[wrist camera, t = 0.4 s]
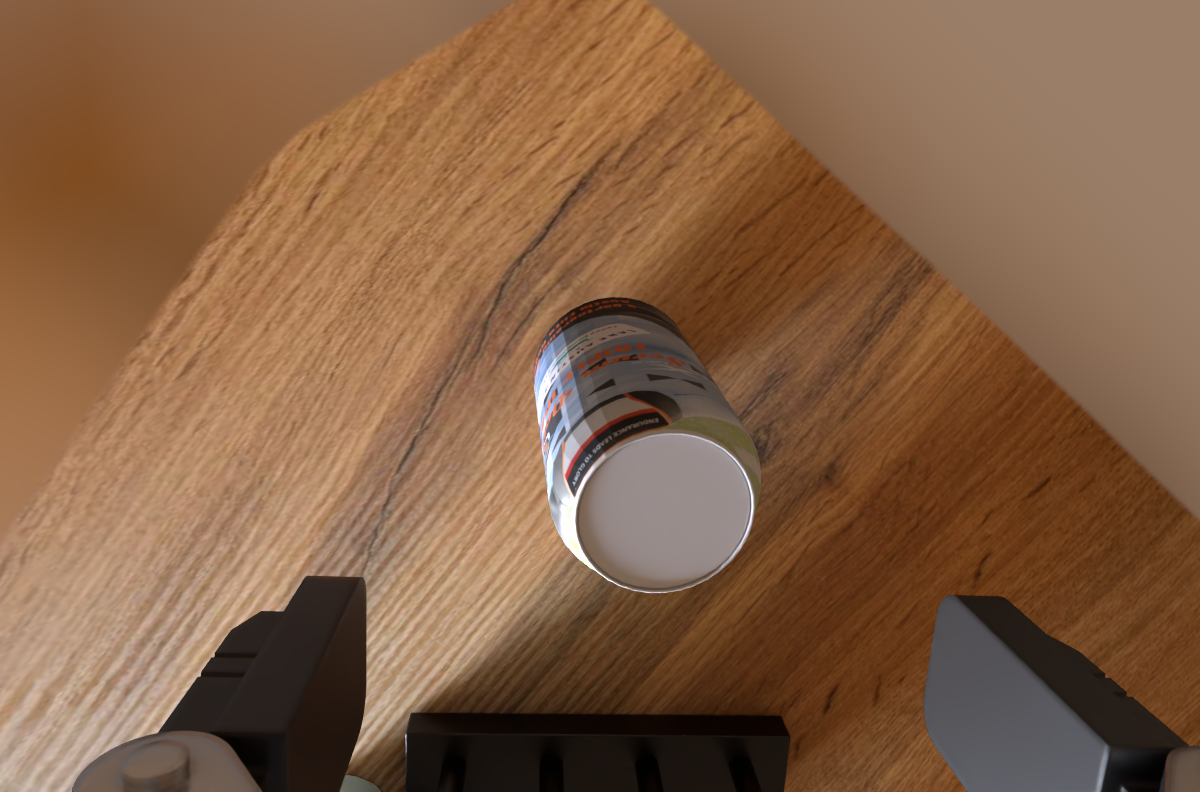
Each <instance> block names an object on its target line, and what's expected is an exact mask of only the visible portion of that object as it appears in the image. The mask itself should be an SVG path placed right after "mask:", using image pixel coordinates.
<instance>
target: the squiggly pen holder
mask: <svg viewBox="0 0 1200 792" xmlns="http://www.w3.org/2000/svg"><path fill="white" fill-rule="evenodd" d="M340 792H381V791H380V790H379V788H378V787H377V786H376V785H375V784H373V783H371V782H369V781H367V780H364V779H361V778H359V777H356V776H350V775H345V777H344V780H343V783H342V786H341V789H340Z"/></svg>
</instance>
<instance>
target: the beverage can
mask: <svg viewBox="0 0 1200 792" xmlns="http://www.w3.org/2000/svg"><path fill="white" fill-rule="evenodd" d="M533 381H534V389H535V397H536V405H537V413H538V420H539V428H540V436H541V444H542V451H543V459H544V467H545V475H546V483H547V490H548V498H549V505H550V511H551V515H552V518H553V521H554V523H555V526H556V529H557V531H558V533H559V534H560V536H561V538H562V539H563V541H564V543H565V544H566V546H567V547H568V548H569V549H570V550H571V551H572V552H573V553H574V554H575V556H576V557H577V558H578V559H580V560H581V561H582V562H584V563H585V564H586V565H588V566H589V567H590V568H592V569H593V570H595V571H597V572H598V573H599V574H601V575H602V576H603V577H605V578H606V579H607V580H609V581H611V582H613V583H615V584H617V585H619V586H621V587H624V588H627V589H631V590H634V591H640V592H647V593H667V592H673V591H679V590H683V589H686V588H689V587H692V586H695V585H697V584H699V583H701V582H703V581H705V580H708V579H709V578H711V577H712V576H714V575H715V574H717V573H718V572H720V571H721V570H722V569H723V568H724V567H725V566H727V565H728V564H729V563H730V562H731V561H732V560H733V559H734V557H735V556H736V555H737V554H738V552H739V551H740V550H741V548H742V547H743V545H744V543H745V541H746V539H747V538H748V536H749V533H750V530H751V527H752V524H753V520H754V514H755V511H756V508H757V505H758V502H759V496H760V489H761V469H760V463H759V459H758V455H757V451H756V448H755V446H754V444H753V442H752V440H751V437H750V435H749V433H748V432H747V430H746V429H745V427H744V426H743V424H742V423H741V421H740V420H739V418H738V417H737V415H736V414H735V412H734V411H733V409H732V408H731V406H730V405H729V403H728V401H727V400H726V398H725V397H724V395H723V394H722V392H721V391H720V389H719V388H718V386H717V385H716V383H715V382H714V380H713V379H712V377H711V376H710V374H709V373H708V371H707V370H706V368H705V367H704V365H703V364H702V362H701V361H700V359H699V358H698V356H697V355H696V353H695V352H694V350H693V349H692V347H691V346H690V344H689V342H688V341H687V339H686V338H685V336H684V335H683V333H682V332H681V331H680V329H679V328H678V327H677V325H676V324H675V323H674V322H673V321H672V320H671V319H670V318H669V317H668V316H667V315H666V314H665V313H663V312H662V311H660V310H659V309H657V308H655V307H654V306H652V305H649V304H647V303H644V302H642V301H639V300H634V299H629V298H615V297H611V298H604V299H597V300H594V301H591V302H588V303H585V304H582V305H581V306H579V307H577V308H575V309H573V310H571V311H570V312H568V313H567V314H566V315H564V316H563V317H562V318H560V319H559V320H558V321H557V322H556V323H555V324H554V325H553V327H552V328H551V329H550V330H549V331H548V333H547V334H546V336H545V338H544V339H543V341H542V343H541V345H540V347H539V350H538V352H537V355H536V359H535V364H534V376H533Z"/></svg>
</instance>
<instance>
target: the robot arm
mask: <svg viewBox="0 0 1200 792" xmlns="http://www.w3.org/2000/svg"><path fill="white" fill-rule="evenodd" d="M365 698H366V585H365V580H364V578H363V577H334V576H306V577H305V578H304V580H303V581H302V583H301V585H300V586H299V588H298V589H297V591H296V593H295V594H294V596H293V597H292V599H291V601H290V602H289V604H288V606H287V607H286V609H285V610H284V612H276V611H261V612H259V613H258V614H256V615H254V616H253V617H251V618H250V619H248V620H247V621H245V622H243V623H242V624H240V625H239V626H237V627H235V628H234V629H232V630H231V631H230V632H229V634H228V635H227V637H226V638H225V639H224V641H223V642H222V644H221V645H220V646H219V648H218V649H217V651H216V652H215V657H214V658H213V657H212V658H211V659H210V661H209V662H208V663H207V665H206V666H205V668H204V669H203V670H202V672H201V677H197V679H196V680H195V682H194V683H193V684H192V686H191V687H190V689H189V690H188V691H187V693H186V694H185V696H184V697H183V698H182V700H181V701H180V703H179V704H178V705H177V707H176V708H175V710H174V711H173V712H172V714H171V715H170V717H169V718H168V719H167V721H166V722H165V724H164V725H163V726H162V728H161V729H160V731H159V732H158V733H157V734H152V735H148V736H144V737H140V738H137V739H134V740H132V741H129V742H126V743H124V744H121V745H119V746H117V747H115V748H113V749H111V750H109V751H108V752H106V753H104V754H103V755H101V756H100V757H98V758H97V759H96V760H94V761H93V762H92V763H90V764H89V765H88V766H87V767H86V768H85V769H84V770H83V771H82V772H81V774H80V775H79V777H78V778H77V779H76V781H75V783H74V786H73V788H72V792H340V789H341V786H342V783H343V780H344V777H345V774H346V771H347V768H348V765H349V763H350V760H351V757H352V754H353V751H354V748H355V745H356V742H357V739H358V736H359V733H360V729H361V725H362V720H363V714H364V707H365ZM924 716H925V722H926V726H927V730H928V733H929V736H930V738H931V740H932V742H933V743H934V745H935V747H936V748H937V749H938V751H939V752H940V754H941V755H942V756H943V758H944V759H945V761H946V762H947V763H948V765H949V766H950V768H951V769H952V770H953V772H954V773H955V775H956V776H957V778H958V779H959V780H960V782H961V783H962V785H963V786H964V787H965V789H966V790H967V792H1200V746H1189V745H1188V744H1187V743H1186V742H1184V741H1183V740H1182V739H1181V738H1180V737H1179V736H1177V735H1176V734H1175V733H1174V732H1173V731H1171V730H1170V729H1169V728H1168V727H1167V726H1166V725H1164V724H1163V723H1162V722H1161V721H1160V720H1159V719H1157V718H1156V717H1155V716H1154V715H1153V714H1152V713H1150V712H1149V711H1148V710H1147V709H1146V708H1145V707H1143V706H1142V705H1141V704H1140V703H1139V702H1138V701H1136V700H1135V699H1134V698H1133V697H1127V692H1126V691H1125V690H1124V689H1122V688H1121V687H1120V686H1119V685H1118V684H1117V683H1115V682H1114V681H1113V680H1112V679H1111V678H1106V677H1105V673H1104V672H1103V671H1101V670H1100V669H1099V668H1098V667H1097V666H1096V665H1094V664H1093V663H1092V662H1091V661H1090V660H1089V659H1087V658H1086V657H1085V656H1084V655H1083V654H1082V653H1080V652H1079V651H1077V650H1075V649H1074V648H1072V647H1070V646H1068V645H1066V644H1064V643H1062V642H1060V641H1058V640H1057V639H1055V638H1053V637H1051V636H1049V635H1047V634H1046V633H1045V632H1043V631H1042V630H1041V629H1040V628H1039V627H1038V626H1037V625H1035V624H1034V623H1033V622H1032V621H1031V620H1030V619H1029V618H1028V617H1026V616H1025V615H1024V614H1023V613H1022V612H1021V611H1020V610H1018V609H1017V608H1016V607H1015V606H1014V605H1013V604H1012V603H1010V602H1009V601H1008V600H1007V599H1005V598H1004V597H1001V596H967V595H948V596H946V597H945V598H943V600H942V601H941V603H940V605H939V608H938V611H937V616H936V623H935V629H934V635H933V641H932V648H931V654H930V660H929V667H928V673H927V679H926V685H925V692H924Z"/></svg>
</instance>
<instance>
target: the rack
mask: <svg viewBox="0 0 1200 792" xmlns="http://www.w3.org/2000/svg"><path fill="white" fill-rule="evenodd" d="M789 744H790V735H789V733H788V730H787V728H786V726H785V724H784V721H783V719H782V717H781V716H713V715H602V714H491V713H411V715H410V718H409V722H408V726H407V730H406V734H405V759H406V792H784V787H785V779H786V770H787V761H788V753H789Z"/></svg>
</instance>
